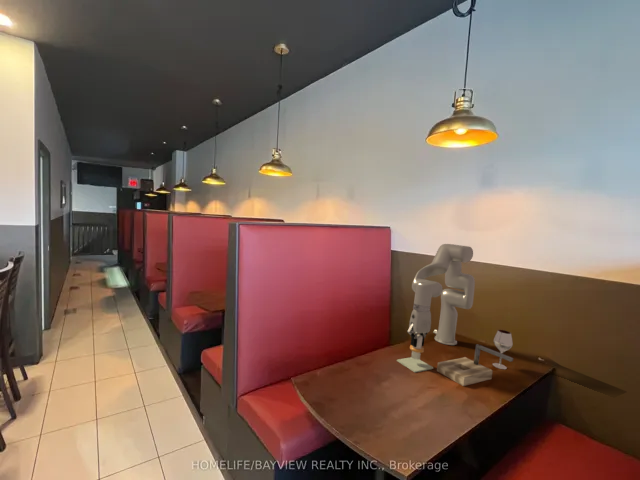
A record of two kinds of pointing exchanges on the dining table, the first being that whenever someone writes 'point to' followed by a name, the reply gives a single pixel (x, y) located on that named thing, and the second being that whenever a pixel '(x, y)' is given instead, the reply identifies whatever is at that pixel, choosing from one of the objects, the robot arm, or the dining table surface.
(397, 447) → the dining table surface
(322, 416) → the dining table surface
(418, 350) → the plug
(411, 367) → the mat
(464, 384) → the socket block
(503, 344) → the wineglass
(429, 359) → the dining table surface
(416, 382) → the dining table surface
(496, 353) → the grey bar
